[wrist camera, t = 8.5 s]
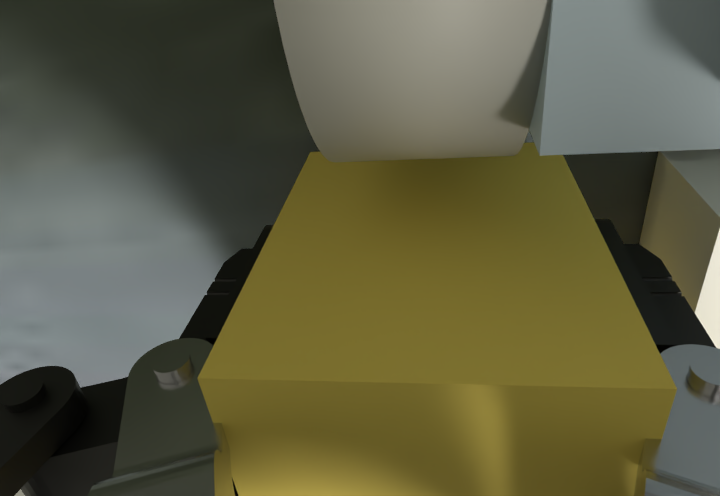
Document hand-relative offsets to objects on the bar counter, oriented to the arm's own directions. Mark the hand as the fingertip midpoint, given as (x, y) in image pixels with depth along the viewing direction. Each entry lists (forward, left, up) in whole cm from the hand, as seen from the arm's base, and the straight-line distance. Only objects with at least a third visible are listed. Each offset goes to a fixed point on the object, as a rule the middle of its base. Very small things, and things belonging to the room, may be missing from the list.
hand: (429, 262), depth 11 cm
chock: (+1, 0, -1) cm, 2 cm away
